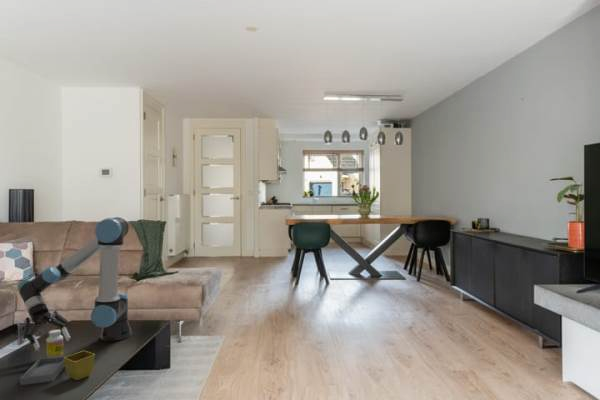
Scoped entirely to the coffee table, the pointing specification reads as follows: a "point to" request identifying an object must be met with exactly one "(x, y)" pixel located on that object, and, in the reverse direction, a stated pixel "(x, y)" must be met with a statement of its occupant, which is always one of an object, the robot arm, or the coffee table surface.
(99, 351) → the coffee table surface
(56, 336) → the supplement bottle
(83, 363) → the flower pot
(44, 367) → the tray
